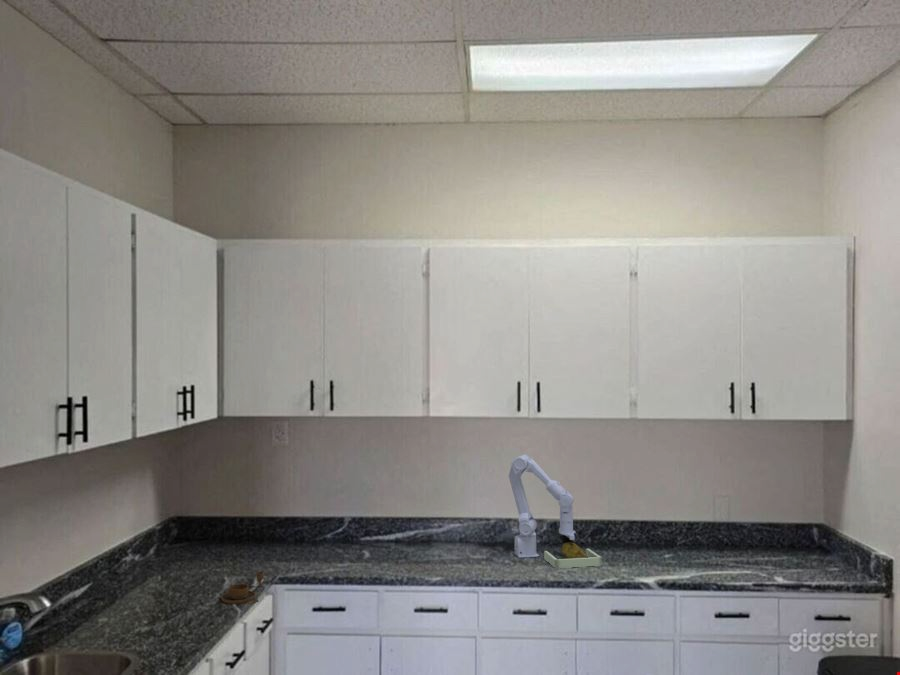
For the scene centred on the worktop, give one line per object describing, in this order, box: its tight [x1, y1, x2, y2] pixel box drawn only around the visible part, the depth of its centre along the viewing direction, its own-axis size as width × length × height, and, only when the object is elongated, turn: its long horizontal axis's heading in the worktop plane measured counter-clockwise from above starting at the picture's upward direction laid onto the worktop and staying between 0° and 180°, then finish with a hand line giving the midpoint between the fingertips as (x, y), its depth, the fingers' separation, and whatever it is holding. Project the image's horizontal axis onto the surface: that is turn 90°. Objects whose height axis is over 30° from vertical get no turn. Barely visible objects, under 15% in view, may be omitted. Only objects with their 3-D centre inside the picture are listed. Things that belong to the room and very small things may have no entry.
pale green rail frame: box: [543, 548, 603, 570], centre depth 297 cm, size 20×15×4 cm
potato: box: [560, 541, 587, 559], centre depth 297 cm, size 8×13×8 cm, turn 15°
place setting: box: [220, 571, 264, 606], centre depth 255 cm, size 18×20×6 cm
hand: (566, 552), depth 303 cm, fingers closed
